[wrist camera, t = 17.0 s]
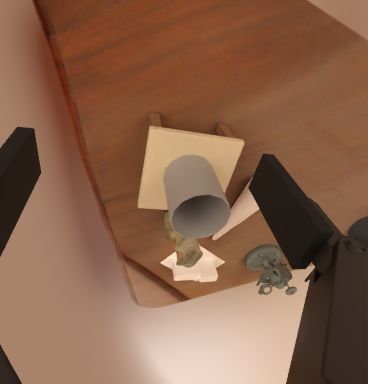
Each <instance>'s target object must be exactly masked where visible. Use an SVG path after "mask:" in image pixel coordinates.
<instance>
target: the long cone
mask: <svg viewBox="0 0 368 384" xmlns="http://www.w3.org/2000/svg"><path fill="white" fill-rule="evenodd" d="M252 178H253V177H252ZM252 178H251V180H252ZM251 180H250V181H249V182H248V184H247V185H246V187H245V188H244V190H243V192H242V193H241V194H240V196H239V197H238V199H237V200H236V202H235V203H234V205H233V206H232V208H231V209H230V213H231V215H230V218H229V220H228V222H227V224H226V225H225V226H224V227H223V228H222V229H221V230H220V231H219V232H218V233H215V234H214V235H213V237H212V239H213V240H216V239H218V238H219V237H221V236H222V235H223V234H225V233H226V232H227V231H229V230H230V229H231V228H233V227H234V226H235V225H238V224H239V223H241V222H242V221H244V220H245V219H246V218H248V217H249V216H250V215H252V214H253V213H255V212H256V211H257V210H259V207H258V205H257V203H256V201H255V200H254V198H253V196H252V194H251V192H250V190H249V189H248V187H249V185H250V182H251Z"/></svg>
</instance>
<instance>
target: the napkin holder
mask: <svg viewBox="0 0 368 384" xmlns="http://www.w3.org/2000/svg"><path fill="white" fill-rule="evenodd" d="M199 247H200V250H201V251H202V252H203V255H202V257H201V258H200V259H199V261H198V262H197V263H196V264H195V265H194V266H192V267H191V268H186V267H184V266H178V265H176V262H177V255H176V252H174V253H173V254H172V255H170V256H169V257H167V258H166V259H165V260H163V261H162V262H161V264H163V265H165V266H167V267H169V268H171V269H173V276H174V281H179V280H194V281H197V280H199V282H209V281H216V280H217V277H218V274H217V271H216V268H217V267H219V266H220V265H222V264H223V263H225V262H224V261H223V260H221V259H220V258H218V257H216V256H215V255H213V254H212V253H210V252H209V251H207V250H206V249H204V248H202V247H201V246H199Z"/></svg>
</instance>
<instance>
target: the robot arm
mask: <svg viewBox="0 0 368 384" xmlns="http://www.w3.org/2000/svg"><path fill="white" fill-rule="evenodd" d="M40 174H41V168H40V162H39V156H38V150H37V144H36V137H35V131H34V129H33V128H23V127H17V128H16V129H15V130H14V132H13V133H12V135H10V137H9V138H8V139H7V141H6V142H5V143H4V144H3V145H2V147H1V148H0V256H1V254H2V252H3V250H4V248H5V246H6V244H7V242H8V240H9V238H10V236H11V234H12V232H13V230H14V228H15V226H16V224H17V221H18V219H19V217H20V215H21V213H22V211H23V209H24V207H25V205H26V203H27V201H28V199H29V197H30V195H31V193H32V191H33V189H34V186H35V184H36V182H37V180H38V178H39V176H40ZM248 189H249V190H250V192H251V194H252V196H253V198H254V200H255V201H256V203H257V205H258V207H259V209H260V211H261V212H262V214H263V216H264V218H265V220H266V222H267V224H268V225H269V227H270V229H271V231H272V233H273V235H274V236H275V238H276V240H277V242H278V244H279V246H280V247H281V249H282V251H283V253H284V255H285V257H286V258H287V260H288V262H289V264H290V266H291V268H292V269H306V268H307V267H308V265H309V264H310V263H311V262H312V263H313V264H314V266H315V268H314V269H313V271H312V272H311V273H310V274H309V276H308V277H307V278H306V279H305V282H307V281H308V280H310V282H309V287H308V291H307V295H306V299H305V304H304V308H303V312H302V317H301V321H300V325H299V330H298V334H297V338H296V343H295V348H294V352H293V356H292V360H291V365H290V369H289V373H288V378H287V382H286V384H368V251H367V249H366V248H365V246H364V245H363V244H361V243H360V242H359V241H357V240H356V239H354V238H351V237H349V236H343V235H342V233H341V232H340V231H339V230H338V229H337V227H336V226H335V225H334V224H333V222H332V221H331V220H330V219H329V218H328V216H327V215H326V214H325V213H324V212H323V210H322V209H321V208H320V206H319V205H318V204H317V203H315V202H314V201H313V200H312V199H310V198H308V197H307V196H306V195H305V194H304V192H303V191H302V190H301V188H300V187H299V186H298V185H297V183H296V182H295V181H294V180H293V178H292V177H291V176H290V175H289V173H288V172H287V171H286V170H285V168H284V167H283V166H282V165H281V163H280V162H279V161H278V160H277V158H276V157H275V156H274V155H270V154H263V155H262V157H261V160H260V162H259V164H258V166H257V169H256V171H255V173H254V176H253V178H252V180H251V182H250V185H249V187H248ZM0 384H22V383H21V381H20V379H19V378H18V376H17V374H16V372H15V370H14V369H13V367H12V365H11V363H10V362H9V360H8V358H7V356H6V355H5V353H4V351H3V349H2V347H1V345H0Z"/></svg>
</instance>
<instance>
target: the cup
mask: <svg viewBox="0 0 368 384" xmlns="http://www.w3.org/2000/svg"><path fill="white" fill-rule="evenodd" d="M163 181H164V187H165V193H166V199H167V206H168V212H169V218H170V222H171V225H172V228H173V230H174V231H175V232H176V233H178V234H179V235H180V236H182V237H186V238H190V239H199V238H206V237H209V236H211V235H213V234H215V233H218V232H219V231H220V230H221V229H222V228H223V227H224V226H225V225H226V224H227V222H228V220H229V218H230V215H231V213H230V206H229V203H228V201H227V199H226V196H225V194H224V192H223V190H222V188H221V185H220V183H219V181H218V179H217V176H216V174H215V172H214V170H213V168H212V165H211V164H210V163H209V162H208V161H207V160H206V159H205V158H203V157H200V156H198V155H183V156H181V157H179V158H177V159H175V160H173V161H172V162H171V163H170V164H169V165H168V166H167V168H166V169H165V172H164V177H163Z"/></svg>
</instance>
